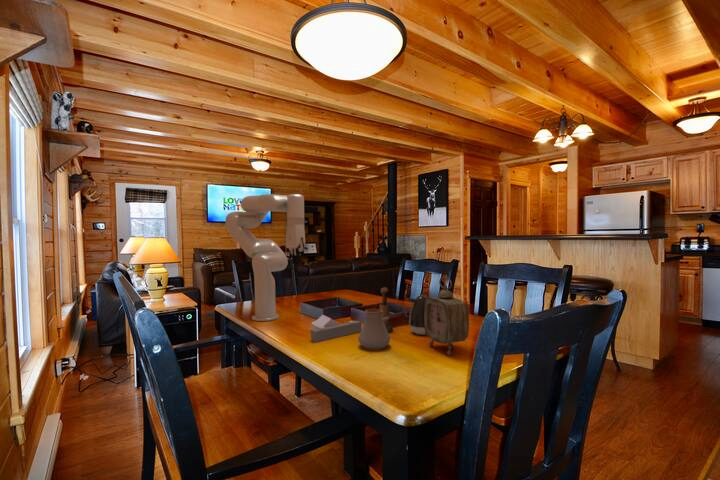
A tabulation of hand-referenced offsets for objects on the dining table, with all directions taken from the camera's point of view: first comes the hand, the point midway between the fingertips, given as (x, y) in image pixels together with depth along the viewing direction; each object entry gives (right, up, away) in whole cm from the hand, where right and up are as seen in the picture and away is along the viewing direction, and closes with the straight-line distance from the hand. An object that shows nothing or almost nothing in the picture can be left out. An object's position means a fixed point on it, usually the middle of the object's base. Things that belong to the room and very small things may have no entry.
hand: (296, 264), depth 154 cm
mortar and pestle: (+38, -27, -10) cm, 48 cm away
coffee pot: (+37, -27, -33) cm, 57 cm away
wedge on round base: (+14, -27, -10) cm, 32 cm away
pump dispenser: (+53, -27, -14) cm, 61 cm away
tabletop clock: (+58, -27, -34) cm, 72 cm away
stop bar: (+19, -27, -17) cm, 37 cm away
